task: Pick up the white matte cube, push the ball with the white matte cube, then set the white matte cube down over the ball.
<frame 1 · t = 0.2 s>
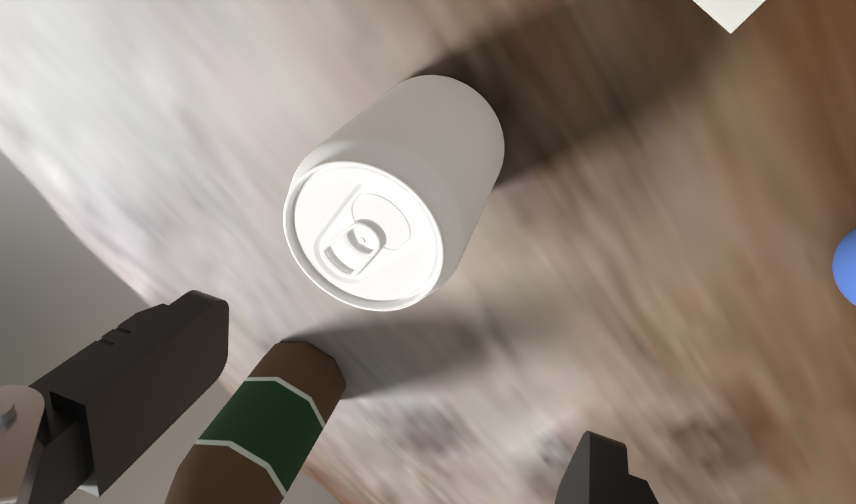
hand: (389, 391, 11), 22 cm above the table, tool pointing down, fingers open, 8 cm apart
beverage can: (439, 140, 32), on the table
beer bottle: (308, 370, 47), on the table
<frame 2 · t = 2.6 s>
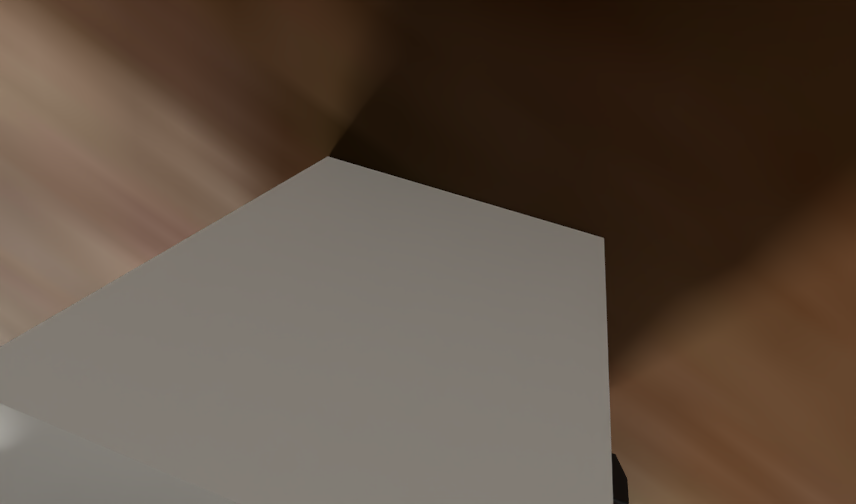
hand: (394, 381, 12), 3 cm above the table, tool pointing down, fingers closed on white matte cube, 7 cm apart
white matte cube: (431, 312, 14), on the table, touching gripper
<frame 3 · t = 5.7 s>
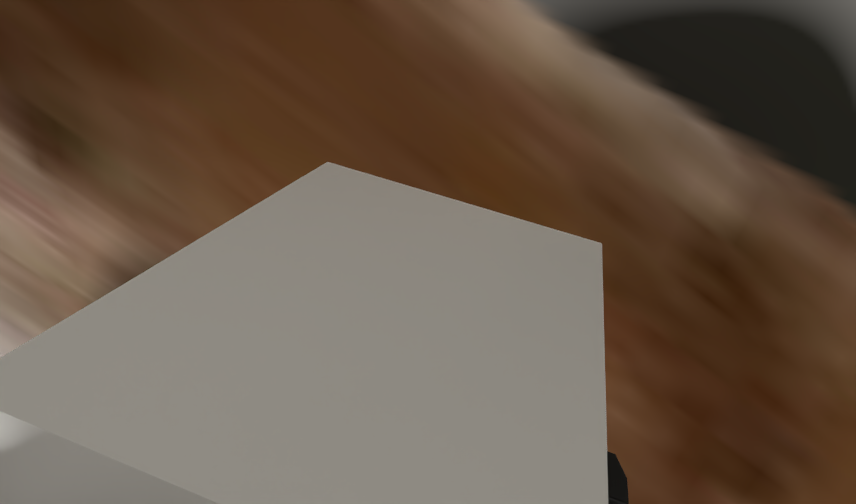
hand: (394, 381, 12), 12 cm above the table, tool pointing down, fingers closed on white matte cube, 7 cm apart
white matte cube: (430, 316, 14), point 9 cm above the table, touching gripper
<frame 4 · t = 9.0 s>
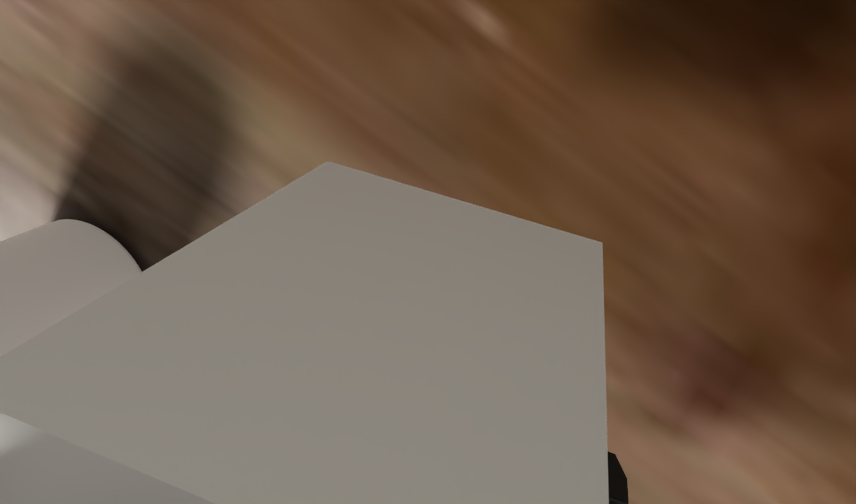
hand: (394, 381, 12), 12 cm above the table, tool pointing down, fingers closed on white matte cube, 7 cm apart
beverage can: (105, 278, 31), on the table
white matte cube: (430, 316, 14), point 10 cm above the table, touching gripper
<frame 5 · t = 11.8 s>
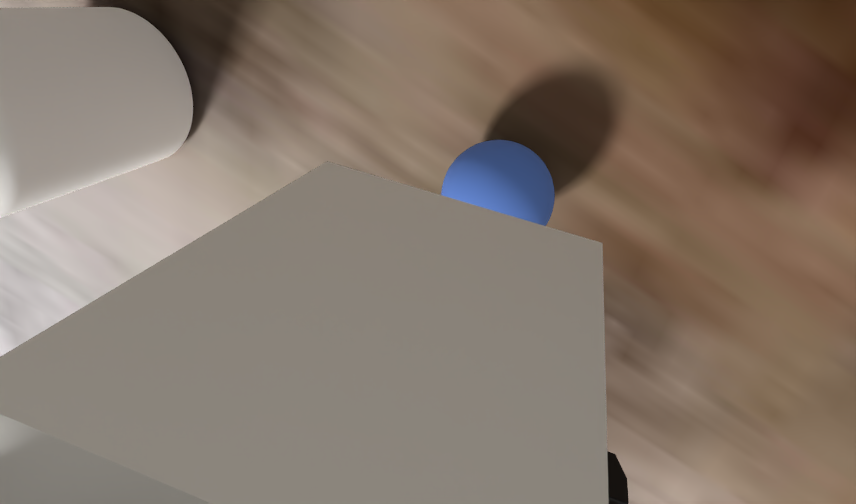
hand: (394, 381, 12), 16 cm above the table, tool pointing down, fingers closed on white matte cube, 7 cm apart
beverage can: (140, 86, 30), on the table
ball: (497, 196, 24), on the table
white matte cube: (430, 316, 14), point 13 cm above the table, touching gripper
when the fingers open (3 cm above the table, at t = 14.7 s): white matte cube stays where it is, on the table.
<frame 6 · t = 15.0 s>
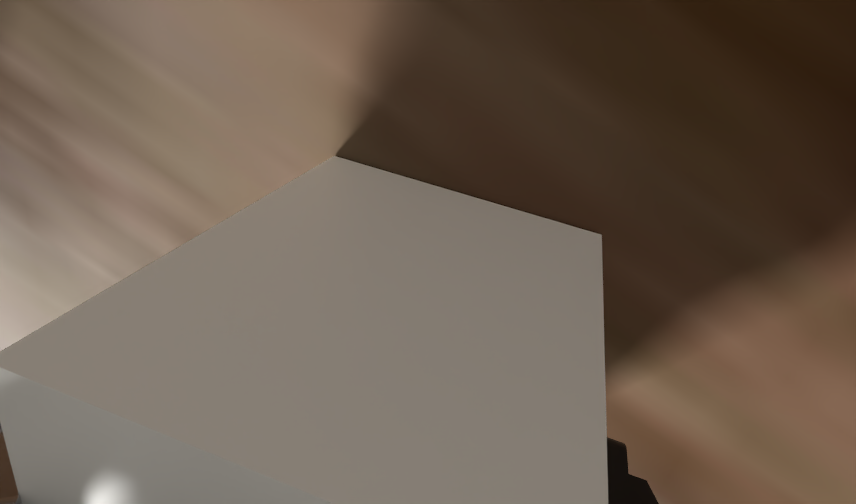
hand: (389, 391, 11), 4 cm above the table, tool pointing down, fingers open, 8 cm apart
white matte cube: (434, 307, 14), on the table
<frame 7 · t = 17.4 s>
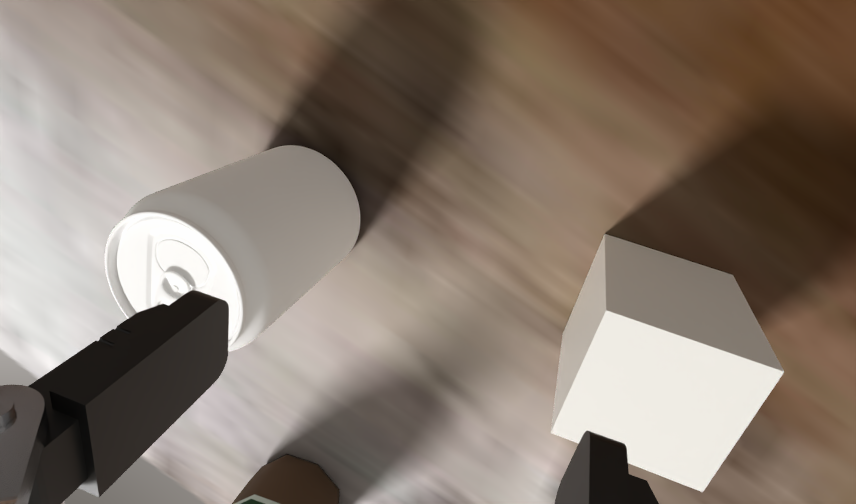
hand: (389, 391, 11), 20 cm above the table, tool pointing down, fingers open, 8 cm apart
beverage can: (307, 205, 34), on the table
beer bottle: (303, 486, 44), on the table
white matte cube: (641, 306, 30), on the table
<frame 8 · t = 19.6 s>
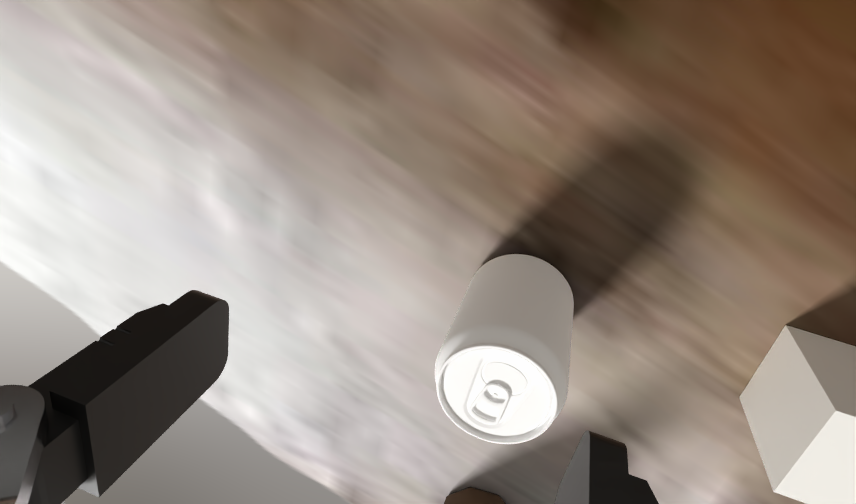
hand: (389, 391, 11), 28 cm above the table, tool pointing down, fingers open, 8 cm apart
beverage can: (520, 296, 42), on the table
white matte cube: (811, 378, 38), on the table
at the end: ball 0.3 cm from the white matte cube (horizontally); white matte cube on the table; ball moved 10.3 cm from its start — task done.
